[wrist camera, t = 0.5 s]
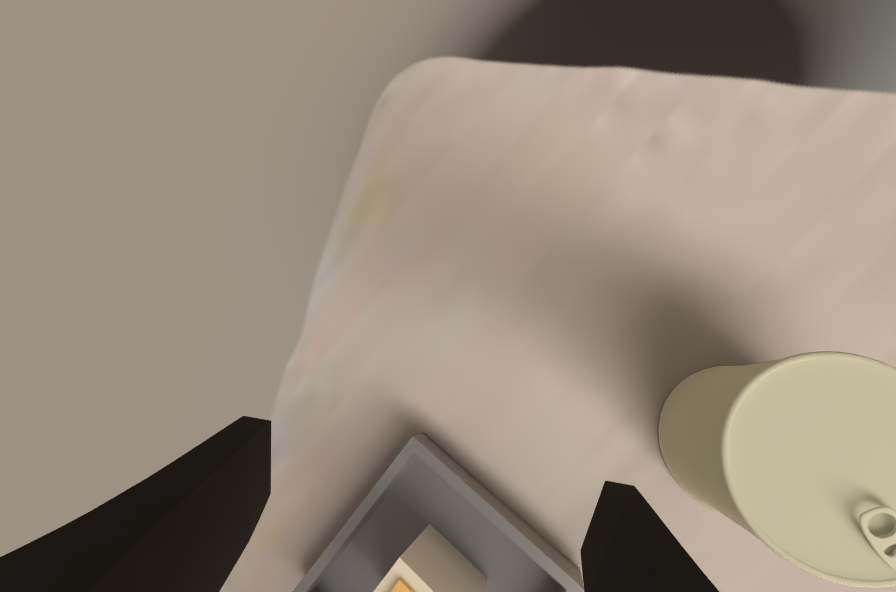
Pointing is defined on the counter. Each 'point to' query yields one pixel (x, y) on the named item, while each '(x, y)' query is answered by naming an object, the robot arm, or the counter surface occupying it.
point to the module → (432, 568)
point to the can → (795, 458)
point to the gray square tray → (453, 515)
